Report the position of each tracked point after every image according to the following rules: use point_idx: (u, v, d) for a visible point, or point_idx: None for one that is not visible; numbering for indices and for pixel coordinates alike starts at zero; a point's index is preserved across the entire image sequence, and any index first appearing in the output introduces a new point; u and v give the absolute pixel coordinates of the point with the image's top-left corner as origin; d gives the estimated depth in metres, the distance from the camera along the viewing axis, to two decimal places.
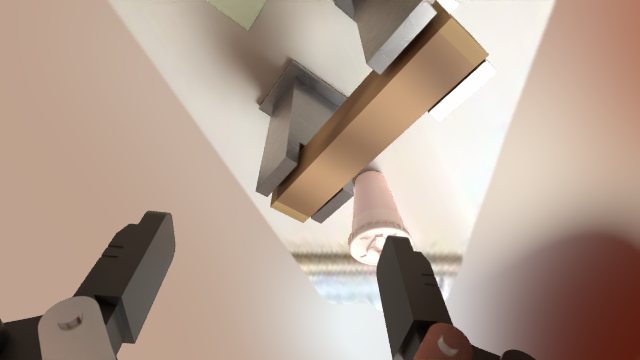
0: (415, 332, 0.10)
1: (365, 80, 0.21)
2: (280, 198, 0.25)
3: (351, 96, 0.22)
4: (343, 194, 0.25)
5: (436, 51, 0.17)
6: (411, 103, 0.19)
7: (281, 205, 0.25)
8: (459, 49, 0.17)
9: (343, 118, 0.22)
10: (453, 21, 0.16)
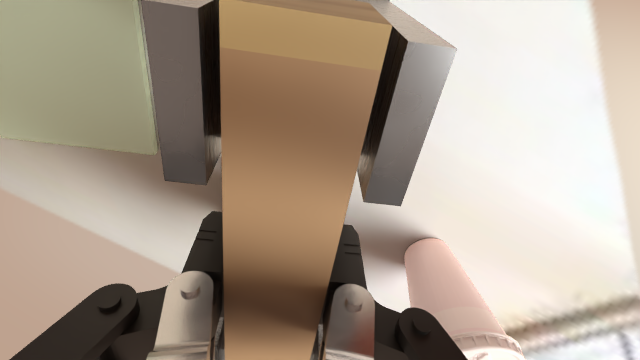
0: (330, 293, 0.11)
1: None
2: None
3: None
4: None
5: (257, 91, 0.07)
6: (301, 209, 0.08)
7: None
8: (304, 56, 0.06)
9: None
10: (232, 4, 0.06)
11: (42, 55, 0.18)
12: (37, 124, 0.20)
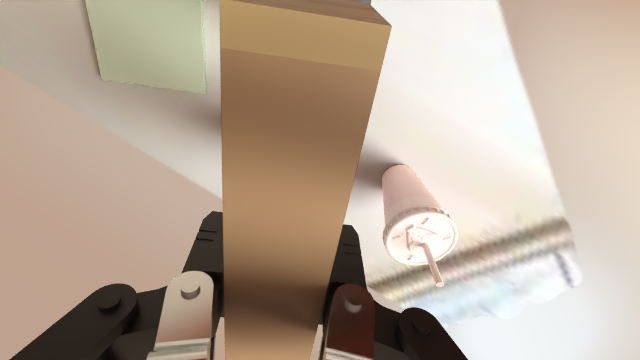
0: (329, 293, 0.11)
1: None
2: None
3: None
4: None
5: (257, 91, 0.07)
6: (301, 209, 0.08)
7: None
8: (304, 57, 0.06)
9: None
10: (232, 4, 0.06)
11: (138, 21, 0.28)
12: (127, 70, 0.30)
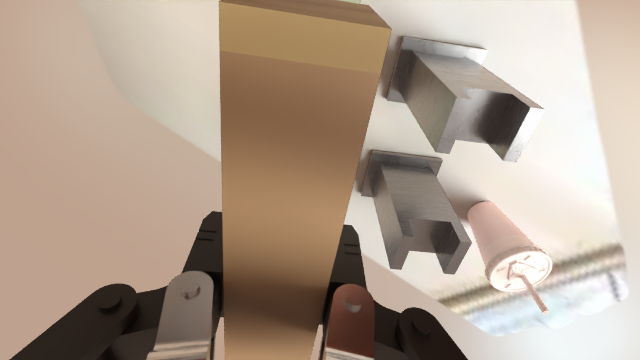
0: (329, 293, 0.11)
1: None
2: None
3: None
4: (462, 245, 0.29)
5: (256, 94, 0.07)
6: (301, 211, 0.08)
7: None
8: (304, 60, 0.06)
9: None
10: (232, 7, 0.06)
11: None
12: None
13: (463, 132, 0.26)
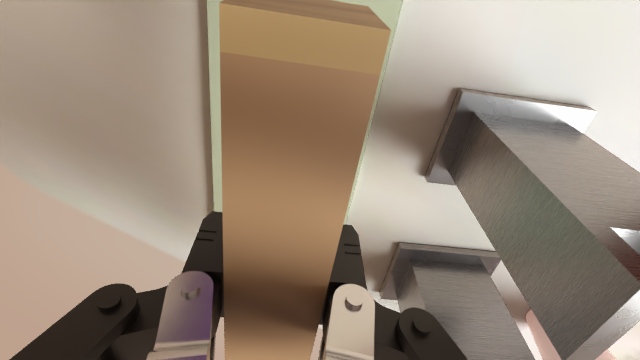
0: (329, 294, 0.11)
1: None
2: None
3: None
4: None
5: (257, 95, 0.07)
6: (300, 211, 0.08)
7: None
8: (304, 61, 0.06)
9: None
10: (232, 9, 0.06)
11: None
12: None
13: None
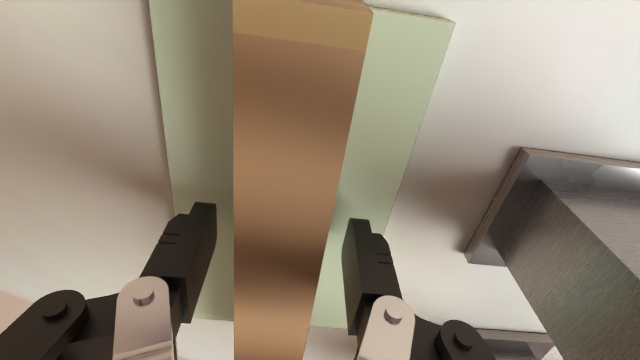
0: (365, 304, 0.10)
1: None
2: None
3: None
4: None
5: (263, 69, 0.08)
6: (300, 175, 0.10)
7: None
8: (302, 39, 0.08)
9: None
10: None
11: None
12: (232, 307, 0.18)
13: None
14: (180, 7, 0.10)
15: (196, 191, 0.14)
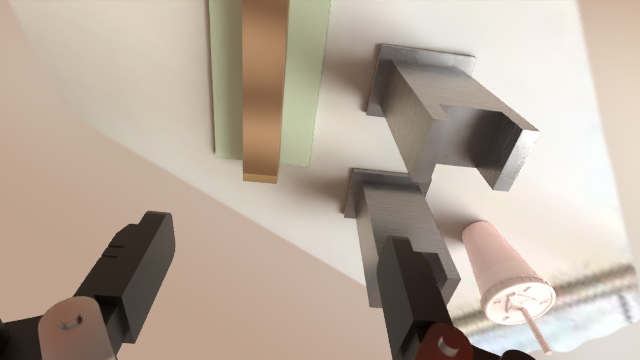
0: (415, 331, 0.10)
1: None
2: (244, 169, 0.30)
3: None
4: (450, 281, 0.25)
5: None
6: (269, 40, 0.24)
7: (249, 175, 0.30)
8: None
9: None
10: None
11: None
12: (241, 148, 0.32)
13: (446, 156, 0.22)
14: None
15: (223, 68, 0.28)
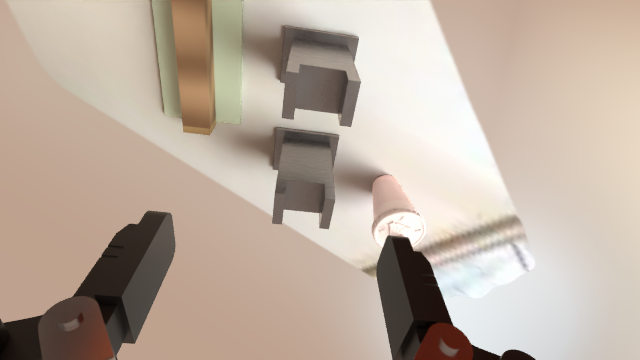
0: (415, 331, 0.10)
1: None
2: (183, 122, 0.39)
3: None
4: (327, 201, 0.34)
5: None
6: (192, 19, 0.33)
7: (188, 127, 0.39)
8: None
9: None
10: None
11: None
12: None
13: (314, 104, 0.31)
14: None
15: (165, 42, 0.37)
